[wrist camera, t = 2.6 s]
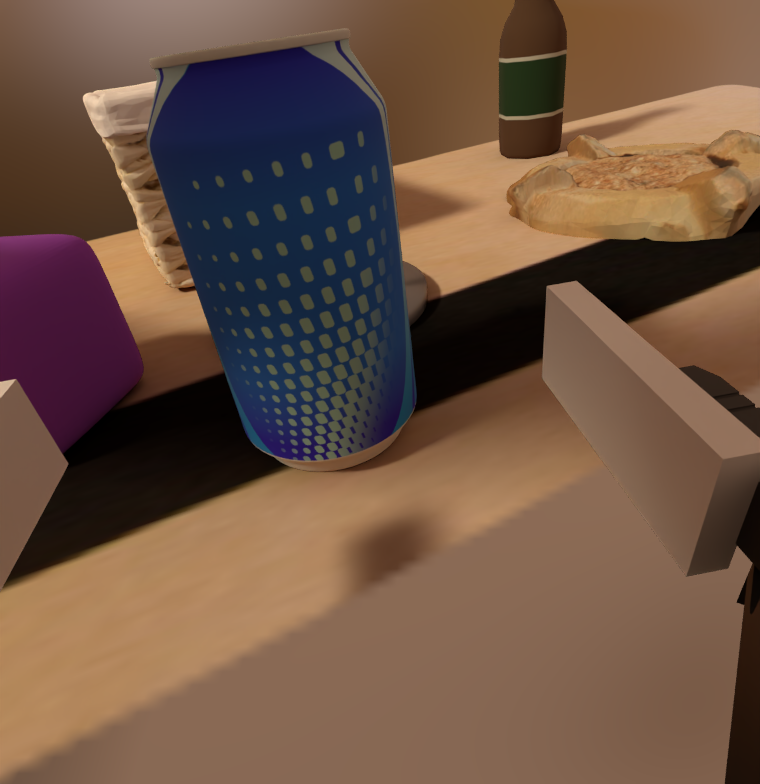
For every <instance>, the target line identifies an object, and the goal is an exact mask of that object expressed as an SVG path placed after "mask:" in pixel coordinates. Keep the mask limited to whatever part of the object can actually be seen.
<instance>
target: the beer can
mask: <svg viewBox="0 0 760 784" xmlns="http://www.w3.org/2000/svg"><path fill="white" fill-rule="evenodd" d="M349 38H350V31H349V29H347V28H345V29H338V30H331V31H324V32H317V33H310V34H304V35H297V36H291V37H284V38H277V39H271V40H264V41H257V42H251V43H244V44H237V45H231V46H224V47H218V48H211V49H205V50H198V51H193V52H186V53H179V54H173V55H167V56H161V57H155V58H151V59H150V65H151V68H152V69H154V70H155V72H156V75H157V83H156V88H155V93H154V99H153V104H152V109H151V114H150V119H149V125H148V130H147V135H146V143H147V147H148V151H149V154H150V157H151V160H152V163H153V166H154V169H155V172H156V175H157V177H158V180H159V183H160V186H161V189H162V192H163V195H164V198H165V201H166V204H167V206H168V209H169V212H170V215H171V218H172V221H173V224H174V227H175V230H176V233H177V235H178V238H179V241H180V244H181V247H182V250H183V253H184V256H185V259H186V262H187V264H188V267H189V270H190V273H191V276H192V279H193V282H194V285H195V288H196V291H197V293H198V296H199V299H200V302H201V305H202V308H203V311H204V314H205V317H206V320H207V323H208V325H209V328H210V331H211V334H212V337H213V340H214V343H215V346H216V349H217V352H218V354H219V357H220V360H221V363H222V366H223V369H224V372H225V375H226V378H227V381H228V383H229V386H230V389H231V392H232V395H233V398H234V401H235V404H236V407H237V410H238V412H239V415H240V418H241V421H242V424H243V427H244V430H245V433H246V434H247V436H248V438H249V439H250V441H251V442H252V443H253V444H254V445H255V446H256V447H257V448H259V449H260V450H261V451H263V452H265V453H267V454H268V455H271V456H273V457H275V458H276V459H277V460H279V461H280V462H282V463H283V464H285V465H288V466H290V467H293V468H296V469H300V470H305V471H316V472H322V471H334V470H340V469H345V468H349V467H352V466H355V465H358V464H361V463H363V462H366V461H368V460H370V459H372V458H373V457H375V456H377V455H378V454H380V453H381V452H383V451H384V450H385V449H386V448H388V447H389V446H390V445H391V444H392V443H393V441H394V440H395V439H396V438H397V436H398V435H399V433H400V431H401V429H402V427H403V426H404V425H405V424H406V422H407V421H408V420H409V418H410V416H411V415H412V413H413V411H414V408H415V405H416V398H417V393H416V383H415V374H414V364H413V355H412V346H411V336H410V327H409V317H408V308H407V299H406V289H405V280H404V270H403V261H402V252H401V242H400V233H399V223H398V214H397V204H396V195H395V186H394V176H393V167H392V157H391V149H390V139H389V129H388V120H387V110H386V105H385V102H384V100H383V97H382V96H381V94H380V93H379V91H378V90H377V89H376V87H375V85H374V84H373V82H372V81H371V79H370V78H369V76H368V75H367V73H366V72H365V70H364V69H363V68H362V66H361V65H360V63H359V62H358V60H357V59H356V57H355V56H354V54H353V53H352V51H351V50H350V47H349Z"/></svg>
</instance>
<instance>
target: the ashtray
mask: <svg viewBox="0 0 760 784" xmlns="http://www.w3.org/2000/svg"><path fill="white" fill-rule="evenodd" d="M567 151H568V157H562V158H556V159H553V160H551V161H548V162H546V163H543V164H540V165H538V166H537V167H535V168H533V169H531V170H530V171H529V172H528V173H527V174H525V175H524V176H523V177H522V178H521V179H520V180H519V181H517V182H516V183H514V184H513V185H511V186H510V187H509V189H508V191H507V202H508V203H510V204H511V205H512V208H511V209H510V212H509V214H510V215H511V216H513V217H516V218H518V219H519V220H521V221H522V222H524V223H525V224H527V225H528V226H530V227H532V228H534V229H536V230H539V231H543V232H547V233H553V234H559V235H566V236H574V237H583V238H603V239H641V238H644V237H645V238H648V239H651V240H657V241H695V240H704V239H716V238H726V237H728V236H732V235H733V234H735V232H737V231H738V230H739V229H741V228H742V227H743V226H744V224H745V223H746V221H747V220H748V218H749V217H750V216H751V215H752V213H753V212H754V211H755V210H756V208H757V207H758V206H759V205H760V136H758V135H756V134H752V133H749V132H746V133H744V132H741V131H739V130H729V131H727V132H725V133H724V134H723V135H722V136H721V137H719V138H718V139H716V140H715V141H713V142H712V143H711V144H694V143H673V144H650V145H642V146H628V147H615V148H606V147H605V146H604V145H602V144H600V143H599V142H598V141H597V140H596V139H595V138H594V137H591V136H589V135H585V134H582V135H579V136H577V137H576V138H575V139H574V140H572V141H571V142H570V143H569V144H568V145H567Z"/></svg>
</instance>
